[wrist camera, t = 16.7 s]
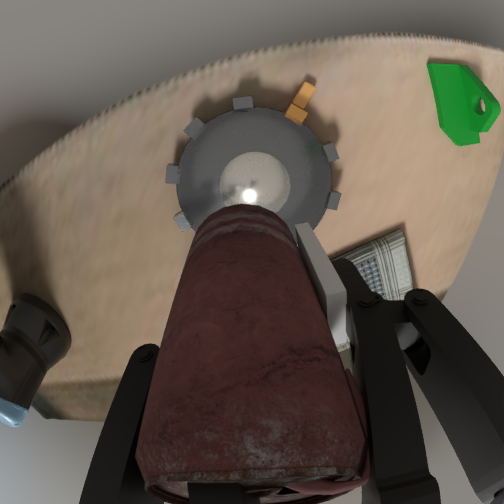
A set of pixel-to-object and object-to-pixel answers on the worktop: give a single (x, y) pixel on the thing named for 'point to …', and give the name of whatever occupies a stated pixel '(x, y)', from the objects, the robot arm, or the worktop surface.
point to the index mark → (303, 95)
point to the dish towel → (382, 268)
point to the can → (251, 375)
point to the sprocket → (254, 166)
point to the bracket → (462, 102)
